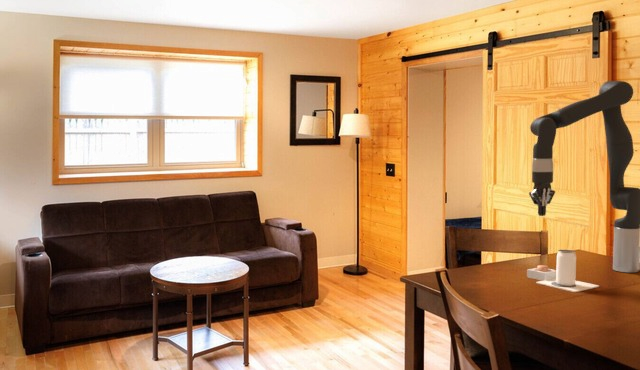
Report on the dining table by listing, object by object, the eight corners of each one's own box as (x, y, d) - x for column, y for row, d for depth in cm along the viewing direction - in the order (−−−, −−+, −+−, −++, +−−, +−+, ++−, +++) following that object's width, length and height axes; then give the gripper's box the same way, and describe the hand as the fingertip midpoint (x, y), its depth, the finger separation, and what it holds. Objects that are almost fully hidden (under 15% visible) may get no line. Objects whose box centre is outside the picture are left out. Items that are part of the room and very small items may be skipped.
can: (577, 286, 217) (578, 253, 216) (557, 286, 218) (558, 252, 217) (573, 282, 223) (574, 249, 222) (554, 281, 224) (555, 249, 223)
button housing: (540, 274, 238) (540, 266, 238) (558, 278, 231) (558, 270, 231) (526, 277, 234) (527, 269, 233) (544, 281, 227) (544, 273, 227)
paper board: (560, 278, 232) (560, 277, 232) (599, 286, 218) (599, 285, 218) (535, 283, 224) (535, 281, 224) (574, 292, 211) (574, 290, 211)
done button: (541, 275, 235) (541, 264, 235) (550, 277, 232) (550, 266, 231) (534, 276, 233) (535, 265, 233) (543, 278, 230) (543, 267, 229)
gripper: (539, 171, 227) (539, 218, 229) (562, 169, 234) (561, 215, 236) (522, 170, 233) (522, 216, 235) (545, 169, 241) (544, 213, 242)
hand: (542, 215), depth 235 cm, fingers closed
